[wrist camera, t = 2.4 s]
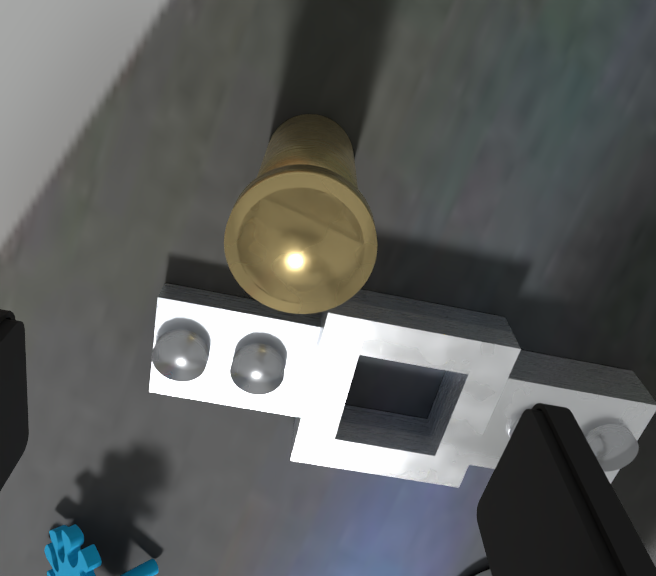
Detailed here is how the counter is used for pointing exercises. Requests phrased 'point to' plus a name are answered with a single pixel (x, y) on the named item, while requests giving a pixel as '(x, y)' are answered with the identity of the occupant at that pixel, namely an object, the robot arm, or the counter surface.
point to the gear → (81, 555)
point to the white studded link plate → (396, 345)
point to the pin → (303, 222)
